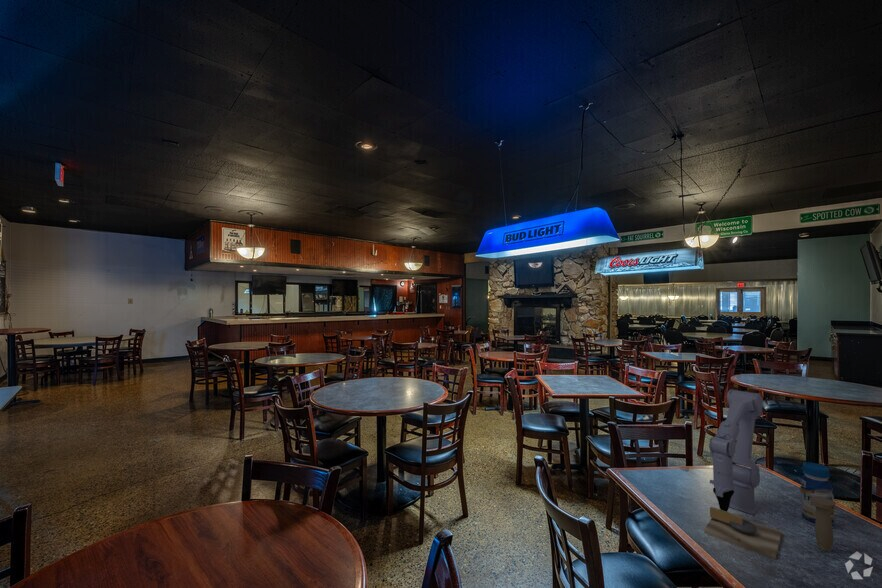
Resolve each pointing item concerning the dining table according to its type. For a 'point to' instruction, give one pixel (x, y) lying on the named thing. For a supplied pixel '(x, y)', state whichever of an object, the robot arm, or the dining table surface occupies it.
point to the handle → (823, 522)
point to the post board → (747, 537)
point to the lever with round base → (733, 520)
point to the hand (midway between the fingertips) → (724, 509)
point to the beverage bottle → (814, 490)
